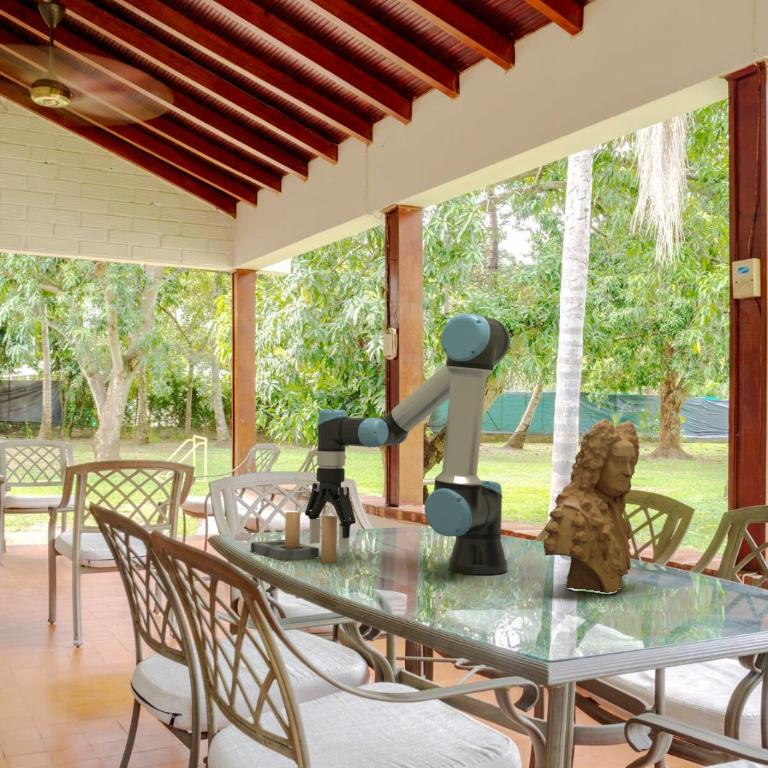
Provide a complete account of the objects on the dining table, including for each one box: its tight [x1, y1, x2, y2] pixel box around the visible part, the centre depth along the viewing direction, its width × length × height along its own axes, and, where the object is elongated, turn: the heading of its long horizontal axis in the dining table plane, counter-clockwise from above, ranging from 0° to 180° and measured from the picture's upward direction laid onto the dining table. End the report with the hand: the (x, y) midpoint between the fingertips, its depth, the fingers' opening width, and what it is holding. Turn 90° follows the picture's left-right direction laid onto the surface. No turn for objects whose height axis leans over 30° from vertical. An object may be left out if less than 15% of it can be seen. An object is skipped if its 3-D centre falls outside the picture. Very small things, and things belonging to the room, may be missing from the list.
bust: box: [543, 417, 640, 593], centre depth 203 cm, size 34×18×40 cm, turn 149°
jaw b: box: [320, 515, 338, 564], centre depth 231 cm, size 4×4×12 cm
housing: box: [250, 539, 320, 562], centre depth 241 cm, size 18×11×2 cm, turn 38°
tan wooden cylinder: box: [284, 511, 301, 550], centre depth 238 cm, size 4×4×12 cm
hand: (328, 546), depth 231 cm, fingers open, 13 cm apart
